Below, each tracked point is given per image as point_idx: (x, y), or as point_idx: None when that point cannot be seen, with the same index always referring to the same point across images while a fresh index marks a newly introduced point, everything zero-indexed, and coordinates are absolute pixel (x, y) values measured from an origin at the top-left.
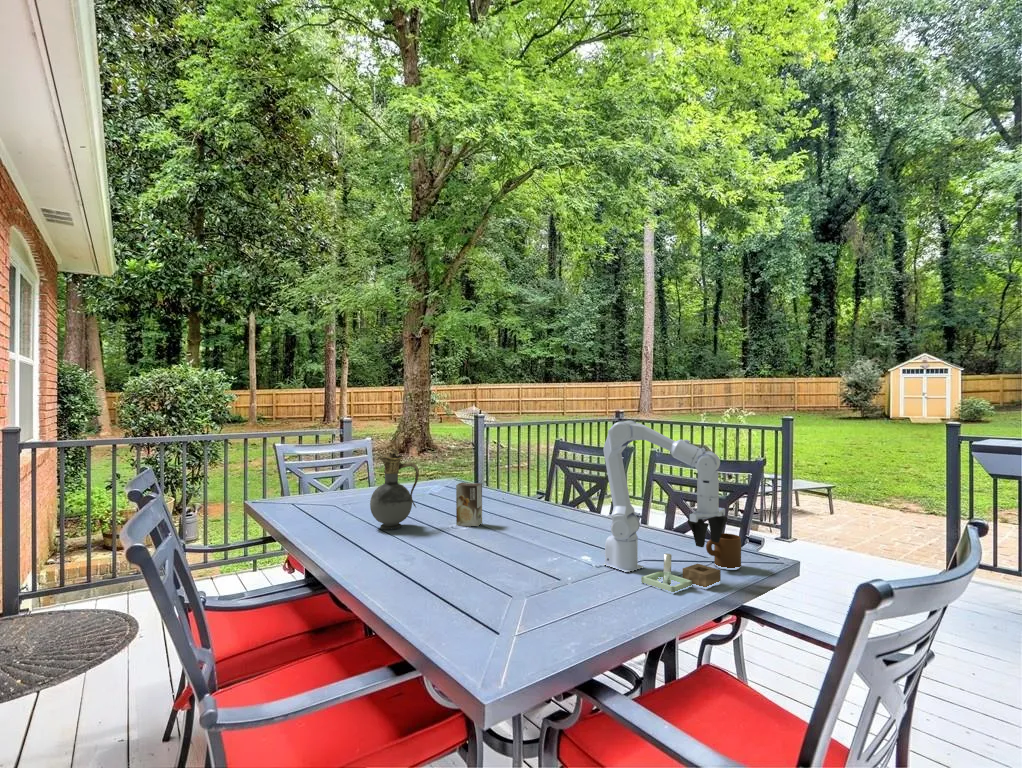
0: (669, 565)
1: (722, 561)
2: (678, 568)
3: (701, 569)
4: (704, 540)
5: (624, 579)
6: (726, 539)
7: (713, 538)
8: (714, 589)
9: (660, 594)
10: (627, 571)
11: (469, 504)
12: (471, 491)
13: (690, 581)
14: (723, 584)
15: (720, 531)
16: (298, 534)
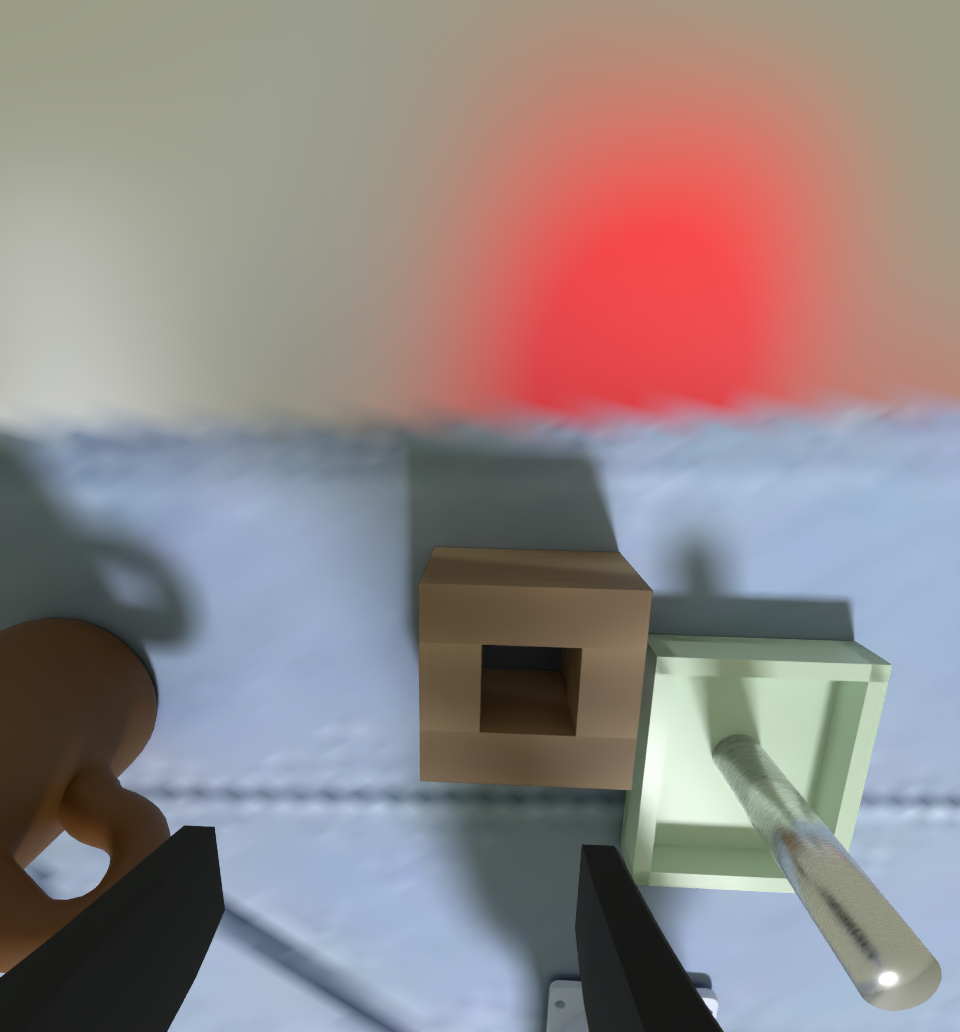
0: (841, 852)
1: (114, 723)
2: (376, 863)
3: (480, 705)
4: (626, 941)
5: (812, 944)
6: None
7: (192, 935)
8: (557, 522)
9: (910, 689)
10: (712, 999)
11: None
12: None
13: (676, 656)
14: (415, 535)
15: (29, 1016)
16: None
